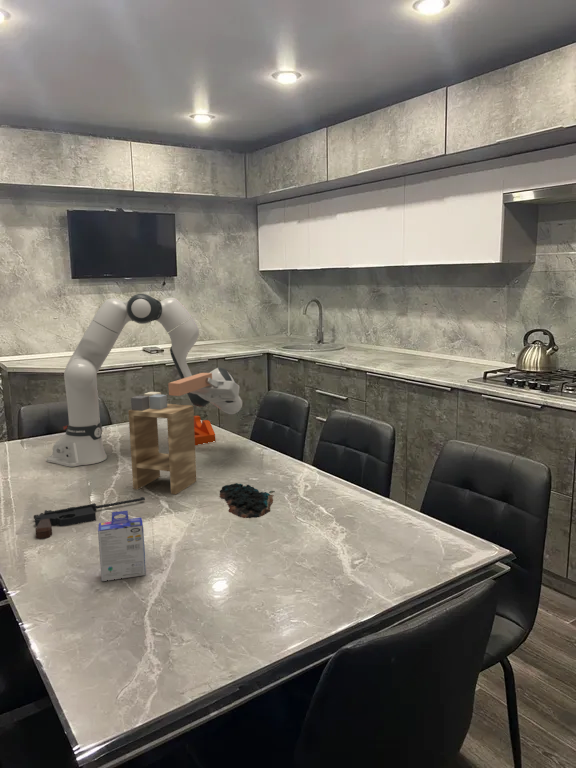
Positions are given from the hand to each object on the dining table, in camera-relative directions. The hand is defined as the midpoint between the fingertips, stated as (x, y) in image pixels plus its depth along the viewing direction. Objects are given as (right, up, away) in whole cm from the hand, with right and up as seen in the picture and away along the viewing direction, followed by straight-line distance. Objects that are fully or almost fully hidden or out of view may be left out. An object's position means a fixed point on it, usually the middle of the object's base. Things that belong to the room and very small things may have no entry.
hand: (200, 379), depth 206 cm
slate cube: (-11, -9, -14) cm, 21 cm away
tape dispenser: (-10, -26, +46) cm, 54 cm away
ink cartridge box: (-7, -45, -69) cm, 83 cm away
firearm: (-25, -41, -37) cm, 60 cm away
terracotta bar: (-2, -3, -5) cm, 7 cm away
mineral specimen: (+19, -38, -24) cm, 49 cm away
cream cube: (-14, -9, -10) cm, 19 cm away
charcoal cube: (-17, -10, -16) cm, 25 cm away
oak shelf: (-10, -35, -10) cm, 38 cm away
